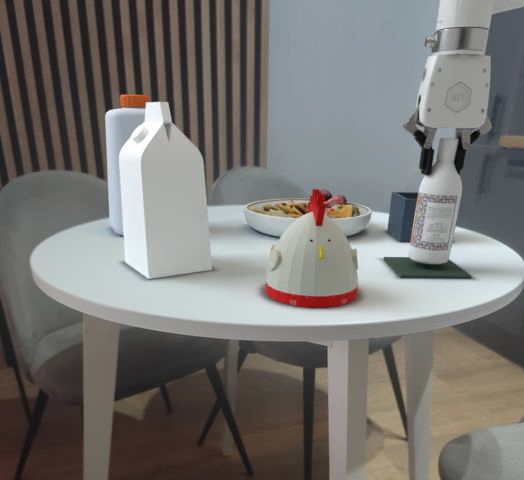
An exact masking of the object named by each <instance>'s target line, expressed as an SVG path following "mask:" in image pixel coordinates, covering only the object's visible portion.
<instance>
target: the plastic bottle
mask: <svg viewBox="0 0 524 480" xmlns="http://www.w3.org/2000/svg"><path fill="white" fill-rule="evenodd" d="M146 102H150V97H149V96H148V95H145V94H120V96H119V104H120V105H119V106H120V108H113V109H109V110H108V111H107V112H106V113H105V114H104V115H105V116H104V121H105V123H104V124H105V125H104V126H105V145H106V169H107V171H106V173H107V194H108V215H109V216H108V219H109V225H110V227H111V228H112V231H114V232H115V234H117V235H119V236H123V237H124V234H123V218H122V202H121V185H120V169H119V154H120V151H121V149H122V147H123V146H124V144H125V143H126V142H127V141H128V140H129V138H130V137H131V135H132V133H133V132H134V130H135V129H136V128H137V127H138V126H140V125H142V124H143V123H144V122H145V110H146Z"/></svg>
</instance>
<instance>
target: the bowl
mask: <svg viewBox="0 0 524 480" xmlns="http://www.w3.org/2000/svg"><path fill="white" fill-rule="evenodd" d="M319 191H321V194H324V204H323V205H326V207H325V215H327V216H328V217H330V218H331V219H332V220H334V221H335V222H336V223H337V224H338V226H339V227H340V228H341V229H342V231H343V232H344V234H345V236H346V238H347V237H350V236H354V235H357V234H359V233H360V232H363V230H365V229H366V228H367V227H368V225H369V223H370V221H371V219H372V209H371V208H370V207H368V206H366V205H363V204H359V203H355V202H349V201H348V200H347V198H346V196H345V195H343V194H337V195H334V196H333V195H332V193H331V191H330V190H328V189H325V188H323V189H319ZM308 202H310V198H272V199H264V200H257V201H253V202H249V203H246V204H245V205H244V206H243V215H244V219H245V221H246V223H248V225H249V226H250V227H251V228H252V229H254V230H256V231H257V232H259V233H262V234H265V235H269V236H273V237H279V238H280V237H281V236H282V234H283V233H284V232H285V230H286V229H287V228H288V227H289V226H290V225H291V224H292V223H293V222H294V221H295V220H297V219H298V218H299V217H301V216H303V215H305V214H307V213H308Z"/></svg>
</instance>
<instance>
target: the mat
mask: <svg viewBox="0 0 524 480" xmlns="http://www.w3.org/2000/svg"><path fill="white" fill-rule="evenodd" d="M383 260H384V262H385V263H386V264H387V265H388V266H389V267H390V268H391V269H392V270H393V272H395V273H396V274H397V276H399V278H402V279H403V278H405V279H415V278H416V279H472V275H471V274H470V273H468V272H467V271H466V270H464V269H463V268H462V267H460V266H459V265H457V264H456V263H454V262H453V261H452V260H450V259H449V260H448V262H446V263H444V264H424V263H419V262H416V261H413V260H411V259H410V258H409V256H384V257H383Z"/></svg>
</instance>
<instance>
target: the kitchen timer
mask: <svg viewBox="0 0 524 480" xmlns="http://www.w3.org/2000/svg"><path fill="white" fill-rule="evenodd" d="M311 190H312V191H311V195H309V199H310V202H308V213H307V214H305V215H303V216H301V217H299V218H298V219H297V220H295V221H294V222H293V223H292V224H291V225H290V226H289V227H288V228H287V229H286V230H285V232H284V233H283V234H282V236H281V237H279V239H278V240H277V243H276V244H274V243H273V244H272V245H271V247H270V251H269V257H268V262H267V266H266V267H267V270H266V271H267V272H266V278H265V294H266V295H267V297H268V298H270V299H272V300H273V301H276V302H278V303H282V304H284V305H288V306H289V305H290V306H294V307H299V308H300V307H302V308H330V307H331V308H332V307H339V306H342V305H346V304H349V303H351V302H353V301H355V300H356V298H357V296H358V288H359V276H358V270H359V263H358V249H357V248H356V247H355V248H352V246H351V244H350V242H349V239H348V238H347V237H346V236H345V234H344V232H343V231H342V229H341V228H340V227H339V226H338V224H337V223H336V222H335V221H334V220H332V219H331V218H330V217H328V216H327V215H325V207H326V205H323V204H324V194H321V191H319V190H320V189H319V188H312V189H311Z"/></svg>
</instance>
